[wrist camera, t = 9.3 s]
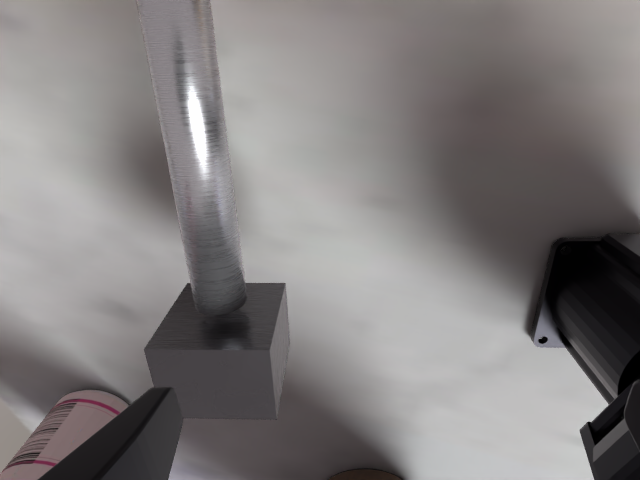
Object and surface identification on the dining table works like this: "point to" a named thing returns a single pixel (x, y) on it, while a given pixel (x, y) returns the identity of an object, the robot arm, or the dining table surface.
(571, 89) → the dining table surface
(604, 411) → the robot arm
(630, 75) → the dining table surface
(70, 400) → the beverage can
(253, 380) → the shaft
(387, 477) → the plant pot
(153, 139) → the dining table surface
